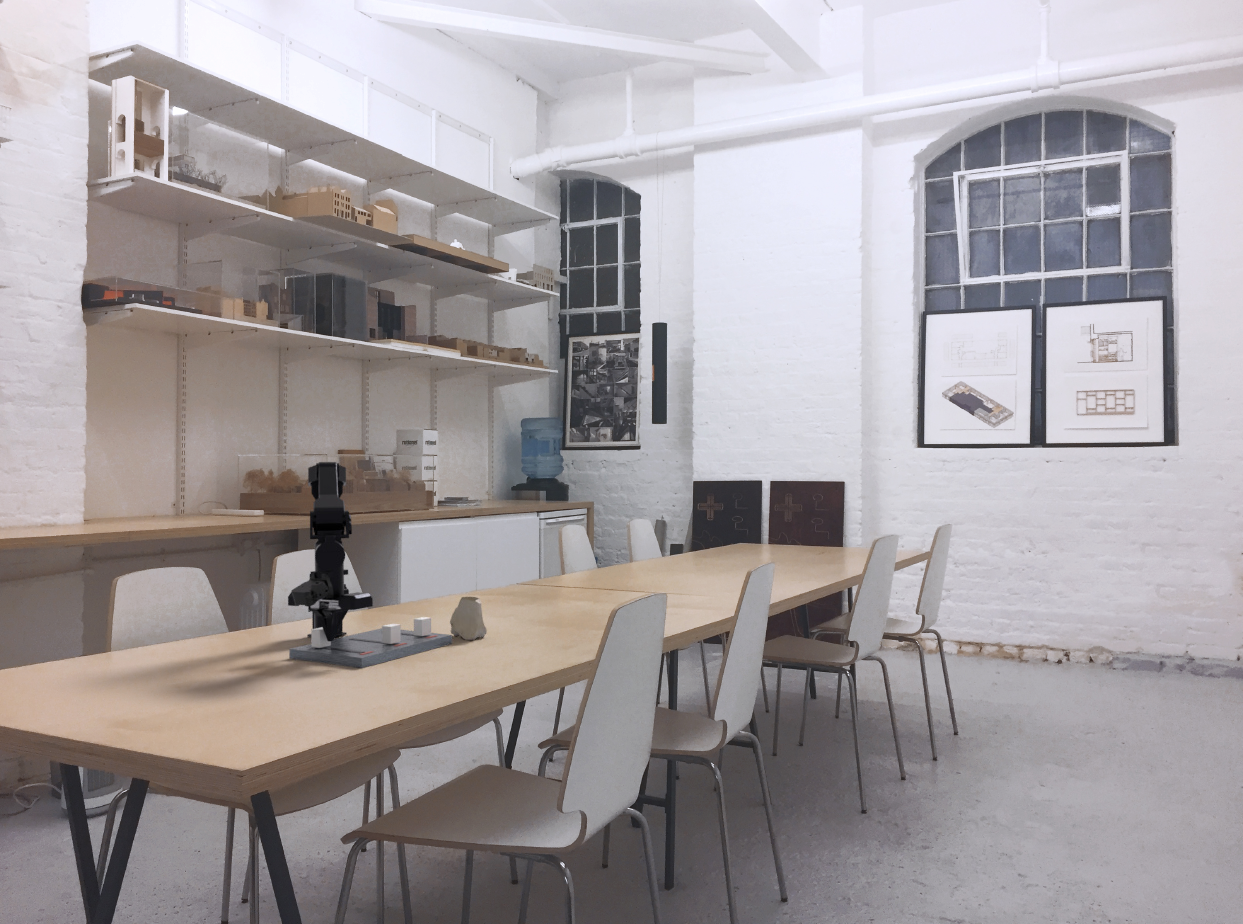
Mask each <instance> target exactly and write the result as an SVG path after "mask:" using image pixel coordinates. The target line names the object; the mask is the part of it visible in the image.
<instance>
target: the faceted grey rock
mask: <svg viewBox="0 0 1243 924" xmlns="http://www.w3.org/2000/svg"><path fill="white" fill-rule="evenodd" d="M458 602H459V603H458V605H457V607H455V609H454V611H453V612H452V615H451V617H450V620H449V624H450V633H451V634H450V635H452V636H454V637H459V636H460V637H461V638H463V640H465V641H471V640H473V641H474V640H476V639H477V638H485V635H487V634H488V632H487V631H488V630H487V627H486V625H485V623H484V618H483V617H484V616H483V609H482V601H481V599H480V598H479V597H478V596H477V597H476V596H461V598H460V600H459V601H458Z"/></svg>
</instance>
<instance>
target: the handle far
mask: <svg viewBox="0 0 1243 924" xmlns="http://www.w3.org/2000/svg"><path fill="white" fill-rule="evenodd" d="M413 631H414V635H416V636H425V635H429V634H431V633H432V617H426V616H421V617H418V618H414V619H413Z"/></svg>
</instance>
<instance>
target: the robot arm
mask: <svg viewBox="0 0 1243 924" xmlns="http://www.w3.org/2000/svg"><path fill="white" fill-rule="evenodd" d="M307 473H308V474H307V486H308V487H311V488H310V490H311V491H310V492H311V495H312V497H313V498H314V501H313V505H312V506H313V510H309V540H316V541H315V543H314V571H313V570H312V571H310V573H309V579H308V580H307V581H305V582H302V583H300V584H298V585H297V586H296V587H294V588H293V589H292V590H291V591H290V593H289V595H288V596H287V606H289V607H290V606H291V607H299V606H304V607H308V609H307V611H308V613H311V615H312V616H311V617H312V624H311V625H312V629H316V628H321V627H323V630H324V633H325V635H326V638H327V641H329V642H331V641H333V640H334V639H336V638H339V637H341V636H342V637H343V636H347V635H348V634H347V632H345V631H343V630H344V629H343V620H344V619H345V617H346V616H347V614H348V613H349V611H354V610H356V611H357V610H360V609H365V608H371V607H373V606H374V605H373V604H374V603H373V601H374V600H373V596H372V595H371V593H370V592H358V591H357V592H351V593H350V590H349V589H348V588H347V584H346V583H345V576H347V575H348V576H349V569H345V565H344V564H345V563H344V562H345V559H346V552H345V547H344V542H343V540H342V539H350V535H352V534H353V529H352V528H353V527H352V515H351V514H350V511H349V510H346V506H345V501H344V500H343V499H341V496H342V495H343V493H344V492H343V491H344V488H343V487H345V486H347V467H345V466H343V465H340V463H339V462H337V461H319V462H316V464H314V465H313V466H310V467H308V468H307ZM313 533H314V534H313ZM307 637H308V638H311V633H309V634H308V633H307Z"/></svg>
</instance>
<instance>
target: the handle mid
mask: <svg viewBox="0 0 1243 924" xmlns="http://www.w3.org/2000/svg"><path fill="white" fill-rule="evenodd" d="M381 628H382V643H387V644H393V643H397V642H401V630H402V629H401V624H399V623H398V624H397V623H390V624H384V625H382V626H381Z"/></svg>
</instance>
